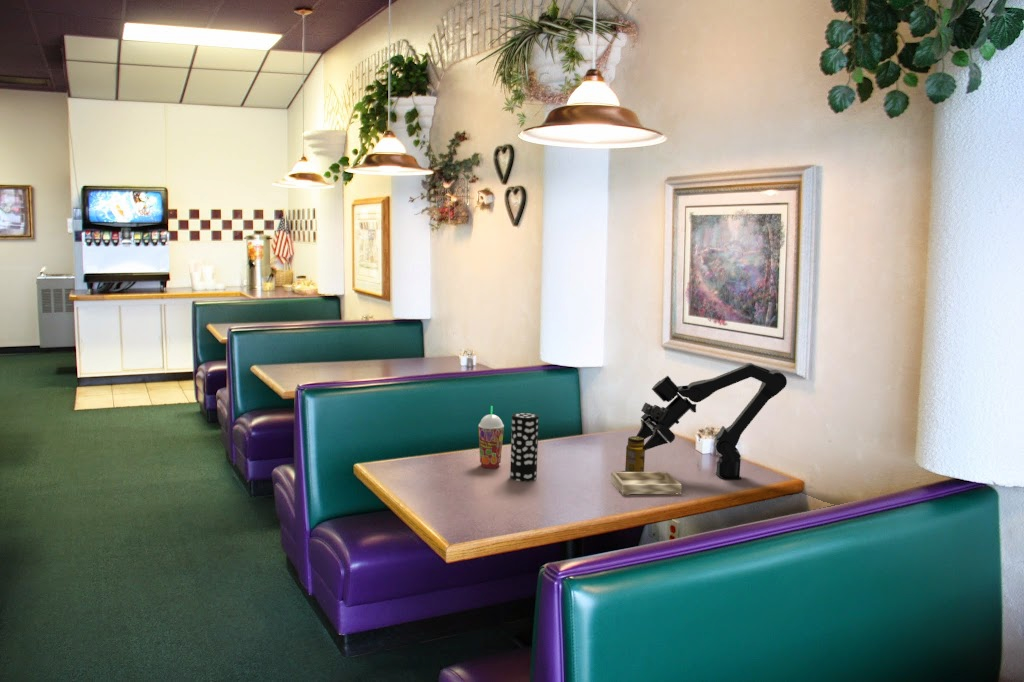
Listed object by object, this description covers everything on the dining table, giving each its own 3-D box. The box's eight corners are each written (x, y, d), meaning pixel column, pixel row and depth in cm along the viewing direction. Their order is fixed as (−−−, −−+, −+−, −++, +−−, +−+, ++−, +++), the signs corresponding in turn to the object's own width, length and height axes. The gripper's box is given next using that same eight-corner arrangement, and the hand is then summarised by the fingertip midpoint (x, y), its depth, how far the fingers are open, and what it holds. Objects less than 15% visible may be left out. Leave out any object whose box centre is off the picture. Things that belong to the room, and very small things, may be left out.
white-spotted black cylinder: (540, 476, 275) (542, 414, 272) (530, 483, 267) (532, 419, 265) (516, 472, 278) (518, 411, 276) (505, 479, 271) (507, 416, 268)
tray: (666, 480, 274) (667, 471, 273) (680, 494, 260) (681, 484, 260) (610, 481, 271) (611, 472, 271) (622, 495, 258) (622, 485, 257)
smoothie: (473, 467, 283) (474, 407, 280) (483, 461, 291) (485, 402, 288) (496, 470, 280) (498, 409, 277) (506, 464, 288) (508, 405, 285)
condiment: (649, 475, 280) (651, 439, 278) (629, 478, 275) (631, 442, 274) (634, 469, 286) (636, 434, 284) (614, 473, 281) (616, 437, 280)
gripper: (648, 389, 288) (614, 422, 287) (667, 400, 269) (631, 435, 269) (669, 412, 290) (636, 445, 289) (690, 425, 272) (654, 460, 271)
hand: (638, 445), depth 280 cm, fingers open, 9 cm apart
